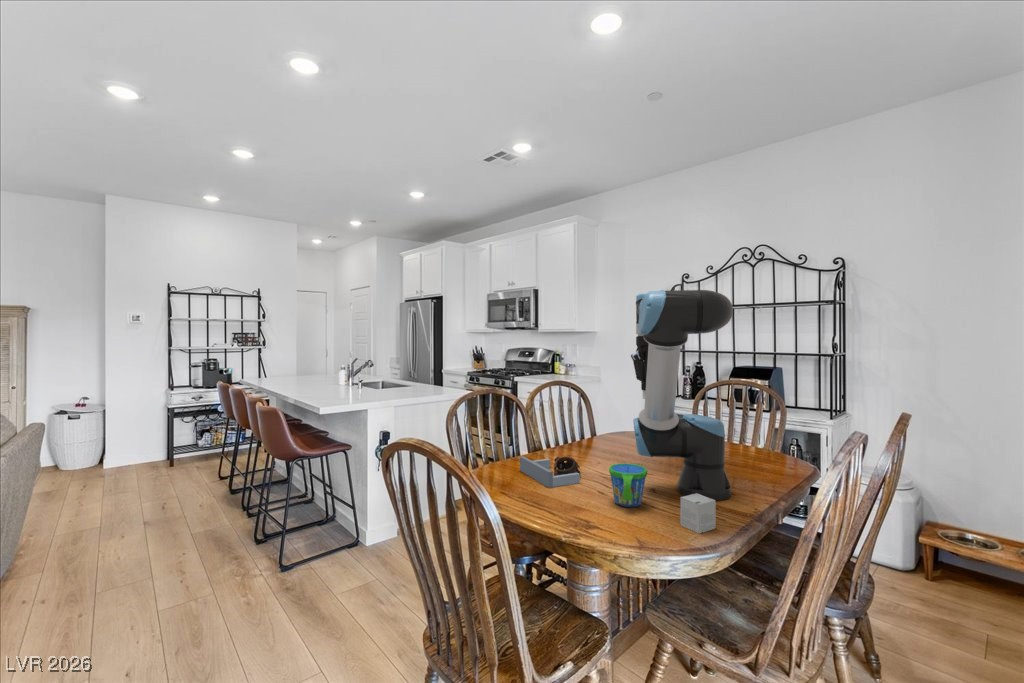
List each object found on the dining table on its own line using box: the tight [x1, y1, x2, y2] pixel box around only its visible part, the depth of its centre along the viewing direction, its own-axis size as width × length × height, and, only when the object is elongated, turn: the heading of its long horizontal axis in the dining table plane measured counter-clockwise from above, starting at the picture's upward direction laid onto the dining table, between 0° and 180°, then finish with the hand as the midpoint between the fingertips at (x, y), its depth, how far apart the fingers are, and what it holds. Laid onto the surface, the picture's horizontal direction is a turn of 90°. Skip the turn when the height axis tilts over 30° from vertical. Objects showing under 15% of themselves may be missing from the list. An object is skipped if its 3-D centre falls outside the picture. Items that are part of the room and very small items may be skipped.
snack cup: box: [608, 462, 648, 508], centre depth 136 cm, size 16×10×10 cm
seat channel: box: [519, 456, 581, 489], centre depth 163 cm, size 12×21×5 cm, turn 25°
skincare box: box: [679, 493, 717, 534], centre depth 120 cm, size 6×6×7 cm
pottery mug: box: [553, 455, 581, 476], centre depth 162 cm, size 12×10×8 cm
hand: (646, 399), depth 177 cm, fingers closed
